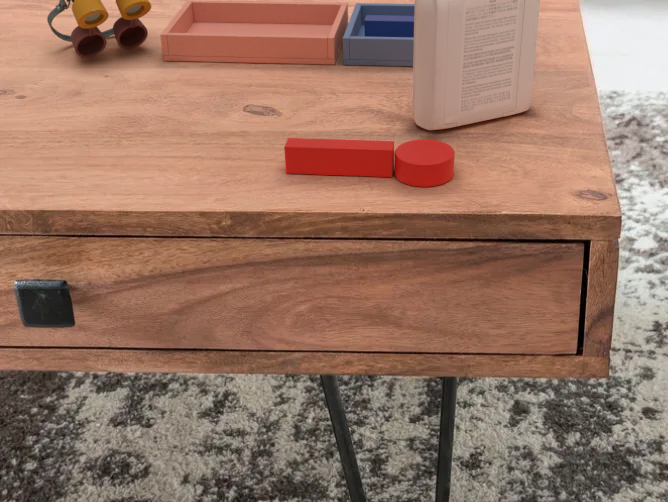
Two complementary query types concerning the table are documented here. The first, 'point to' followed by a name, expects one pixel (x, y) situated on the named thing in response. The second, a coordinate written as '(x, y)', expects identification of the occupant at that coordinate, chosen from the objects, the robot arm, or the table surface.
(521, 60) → the white plastic bottle
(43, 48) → the table surface
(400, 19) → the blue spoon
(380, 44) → the blue tray
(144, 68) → the table surface
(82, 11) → the binoculars
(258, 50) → the coral tray
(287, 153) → the red spoon
